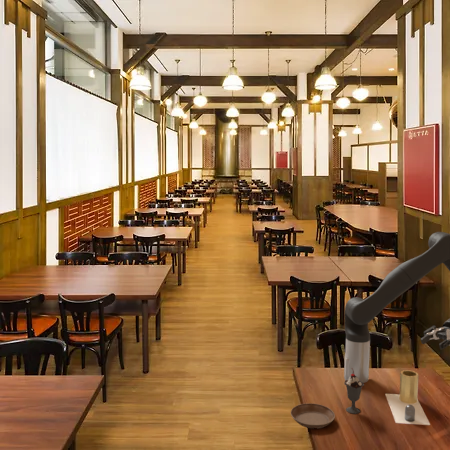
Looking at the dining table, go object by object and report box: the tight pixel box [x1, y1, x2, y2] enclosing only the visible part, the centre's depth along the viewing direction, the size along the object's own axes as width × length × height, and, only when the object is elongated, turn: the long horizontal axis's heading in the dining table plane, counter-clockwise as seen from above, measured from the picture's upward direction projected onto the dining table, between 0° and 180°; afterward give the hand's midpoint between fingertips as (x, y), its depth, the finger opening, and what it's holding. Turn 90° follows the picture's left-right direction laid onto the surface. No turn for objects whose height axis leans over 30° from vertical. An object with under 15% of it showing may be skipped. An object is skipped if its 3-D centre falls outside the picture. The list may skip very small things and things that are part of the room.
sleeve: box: [399, 369, 419, 404], centre depth 193 cm, size 6×6×10 cm
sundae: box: [343, 368, 365, 415], centre depth 187 cm, size 7×7×15 cm
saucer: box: [290, 402, 336, 429], centre depth 181 cm, size 15×15×3 cm
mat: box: [385, 393, 431, 426], centre depth 187 cm, size 11×22×1 cm, turn 173°
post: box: [405, 405, 415, 422], centre depth 179 cm, size 3×3×5 cm
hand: (431, 344), depth 199 cm, fingers open, 8 cm apart
